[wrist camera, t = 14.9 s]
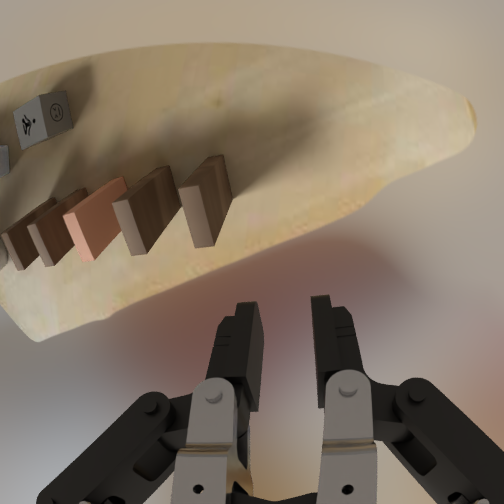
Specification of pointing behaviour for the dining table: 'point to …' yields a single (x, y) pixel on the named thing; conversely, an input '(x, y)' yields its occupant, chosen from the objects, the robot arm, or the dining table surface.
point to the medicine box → (4, 160)
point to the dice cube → (42, 118)
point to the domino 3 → (95, 220)
